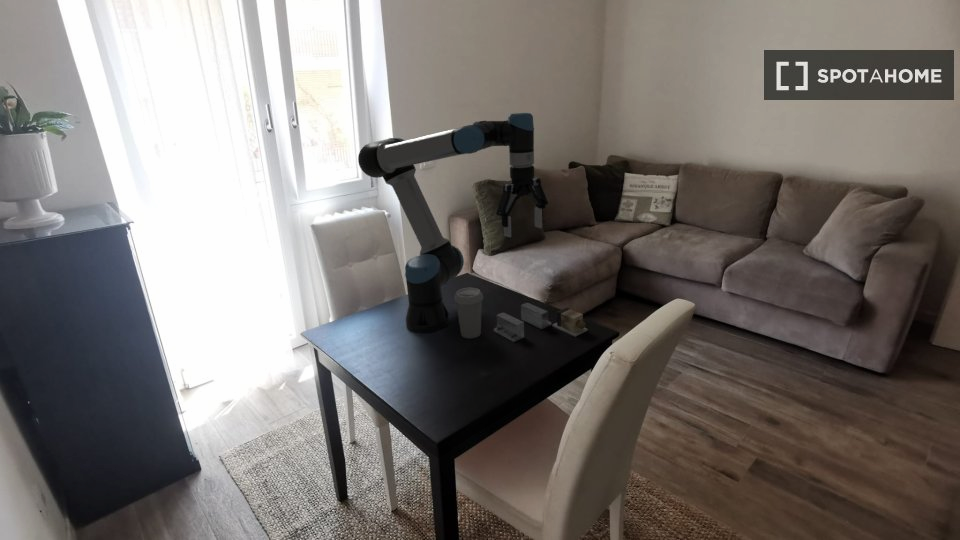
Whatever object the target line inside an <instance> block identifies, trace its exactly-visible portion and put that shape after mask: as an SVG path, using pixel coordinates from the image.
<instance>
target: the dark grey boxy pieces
mask: <svg viewBox="0 0 960 540" xmlns="http://www.w3.org/2000/svg"><path fill="white" fill-rule="evenodd" d="M495 316H496V327H495V328H493V332H494V333H496V334H497V335H499V336H502V337H503V338H505V339H507V340H509V341H511V342H512V343H515V342H517V341H520V340H521V339H524V338H525V323H528V324H529V325H532V326H534V327H536V328H538V329H541V330H543V329H545V328H548V327H550V326H552V322H551V321H550V320H549V311H548V310H546V309H543V308H541V307H539V306H536V305H534V304H532V303H529V302H526V303H525V302H524V303H522V304H521V305H520V319H521V320H520V319H518V318H516V317H514V316H512V315H510V314H508V313H506V312H500V313H498V314H496V315H495Z"/></svg>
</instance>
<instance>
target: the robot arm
mask: <svg viewBox="0 0 960 540" xmlns="http://www.w3.org/2000/svg"><path fill="white" fill-rule="evenodd" d="M534 132H535V126H534V116H533V114H532V113H529V112H520V113H519V112H516V113H510V114H509V115H508V118H507V120H480V121H474V122H473V123H472V124H469V125H464V126H462V127H457V128H454V129H449V130H445V131H441V132H440V131H439V132H436V133H433V134H428V135H423V136H419V137H416V138H410V139H403V138H400V137H389V138H385V139H382V140H377V141H373V142H369V143H367V144H365V145H364V146H363V147H361V148H360V151H359V153H358V157H357V162H358V165H359V168H360V169H361V171H362V172H363V173H364V174H365V175H366V176H369V177H370V178H375V179H377V178H378V179H379V178H383V180H384V182H385V184H387V185H389V186H391V187H392V189H393V191H394V193H395V195H396V197H397V200H398V201H399V203H400V206H401V207H402V210H403V212H404V214H405V216H406V217H407V220H408V222H409V224H410V227H411V229H412V230H413V233H414V235H415V237H416V239H417V242H418V243H419V245H420V251H419V255H415V256H413V257H411V258H410V259H408V260H407V262H406V263H405V267H404V269H405V271H404V277H405V283H406V290H407V298H408V299H407V300H408V307H407V310H406V317H405V325H406V327H407V329H408V330H409V331H412V332H416V333H430V332H433V333H434V332H437V331H440V330H442V329H444V328H446V327H447V326H448V325H449V323H450V314H449V311H448V310H447V307H446V305H445V303H444V300H443V289H442V288H443V287H444V286H445V285H446V284H447V283H449V282H450V281H452V280H454V279H455V278H456V277H458V275H459V274H460V273H461V271H462V270H463V268H464V263H465V261H464V256H463V253H462V251H461V250H460V249H459V248H458V247H456V246H455V245H453V244H451V242H450V240H449V239H447V238H446V237H444V236H443V234H442V232H441V230H440V228H439V226H438V223H437V221H436V219H435V217H434V215H433V213H432V211H431V209H430V206H429V205H428V203H427V201H426V198H425V196H424V194H423V192H422V190H421V188H420V185H419V183H418V181H417V178H416V177H415V174H416V171H417V169H416V166H415V165H417V164H422V163H428V162H432V161H437V160H441V159H447V158H451V157H456V156H461V155H466V154H468V155H469V154H470V155H471V154H474V153H477V152H479V151H481V150H485V149H489V148H492V147H508V149H509V151H508V153H509V166H510V167H509V178H510V180H511V183H509V184H508V183H504V184H503V188H502V190H503V191H502V194H501V196H500V200H499V203H498V206H497V210H496V213H495V214H496V216H499V217H501V225H502V227H503V236H504V237H508V238H512V217H511V216H510V214H511V212H512V210H513V208H514V206H515V205H516V203H517V201H518V200H519V199H520V197H521V198H522V197H524V196H528V197H529V198H530V200H531V201H532V202H533V205H535V207H534V227H535V228H539V229H543V217H544V209H546V207H547V205H548V204H549V202H548V200H547V196H546V194H545V191H544V189H543V187H542V182H541V181H542V180H541V178H539V177H535V166H534V164H535V144H534V143H535V140H534V139H535V138H534V137H535V136H534V135H535V133H534Z"/></svg>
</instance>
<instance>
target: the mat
mask: <svg viewBox="0 0 960 540" xmlns="http://www.w3.org/2000/svg"><path fill="white" fill-rule="evenodd" d="M551 326H552V327H553V328H555V329H557V330H560V331H562V332H564V333H565V334H568V335H570V336H573V337H575V338H576V337H577V336H579V335H581V334H583V333H586V332H588V328H586V327H584V328H583V329H580V330H578V331H576V332H574V333H573V332H571V331H569V330H566V329H564V328H562V327H559V326H557V322H554V323H553V324H551Z"/></svg>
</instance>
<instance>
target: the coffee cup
mask: <svg viewBox="0 0 960 540" xmlns="http://www.w3.org/2000/svg"><path fill="white" fill-rule="evenodd" d="M483 299H484V295H483V293H482V292H481V290H480V289H479V288H476V287H463V288H459V289H458V290H457V291H455V294H454V297H453V301H454V302H455V305H456V306H455V307H456V311H457V317H458V324H459V329H460V330H459V331H460V335H461V337H463V339H464V338H465V339H475V338H478V337H479V336H480V335H481V334H482V309H483V307H482V306H483V303H482V302H483Z"/></svg>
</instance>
